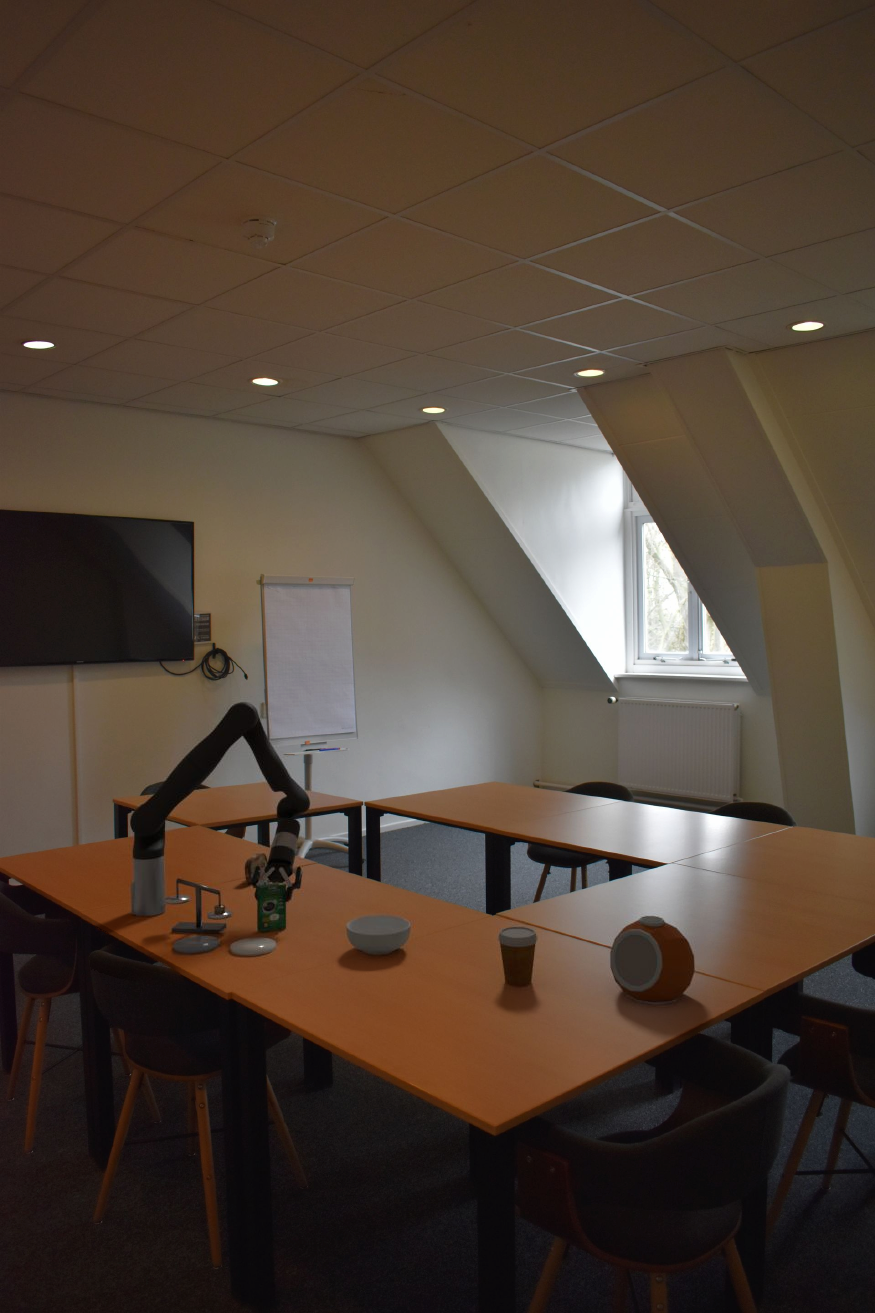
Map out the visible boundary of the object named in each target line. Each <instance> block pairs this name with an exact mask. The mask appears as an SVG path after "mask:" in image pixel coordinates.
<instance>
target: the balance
mask: <svg viewBox="0 0 875 1313" xmlns="http://www.w3.org/2000/svg"><path fill="white" fill-rule="evenodd" d="M179 884H181V885H185V886H188V887H191V888H194V890H195V921H193V922H192V921H178V923H177V924H175V925H174V926H172V928H171V933H172V932H179V933H178V934H206V935H207V934H209V935H210V934H213V935H219V934H220V933H222V932H223V931H224V930H225V929H226V928H227V923H226V922H203V910H202V908H203V907H202V905H203V904H202V891H204V892H208V893H211V894H214V895H218V897H217V898H218V904H215V905H214V910H211V911H208V912H207V918H208V919H209V920H213V921H214V920H216V921H217V920H226V919H230V918H231V917H232V916H233V911H232V910H230V909H226V905H225V904H222V900H221V897H222V896H221V890H219V889H215V888H212V887H209V886H206V885H202V884H199V883H195V882H192V881H189V880H185V879H182V878H176V880H175V886H176V887H175V888H176V890H175V891H176V892H175V893H176V894H173V895H170V896H167V897H165V903H166V905H167V904H168V905H181V904H186V903H189V902H190V901H191V896H190V895H189V894H188V895H187V894H179V893H180V892H179ZM221 931H222V932H221Z"/></svg>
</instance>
